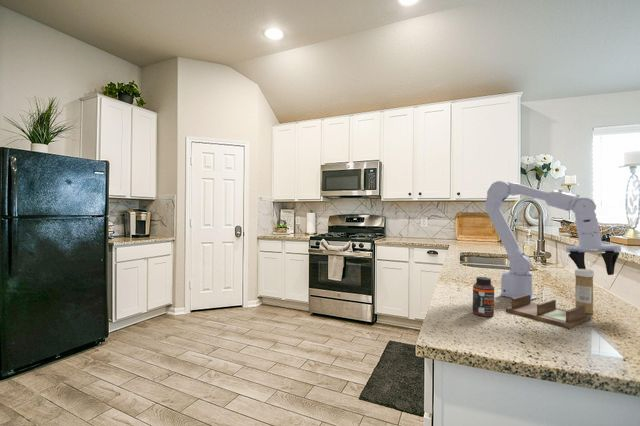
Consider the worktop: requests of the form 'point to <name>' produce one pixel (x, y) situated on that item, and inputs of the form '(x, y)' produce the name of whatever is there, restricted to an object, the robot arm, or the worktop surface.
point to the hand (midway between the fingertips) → (596, 274)
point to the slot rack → (548, 312)
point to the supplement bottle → (483, 297)
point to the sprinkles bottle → (584, 289)
